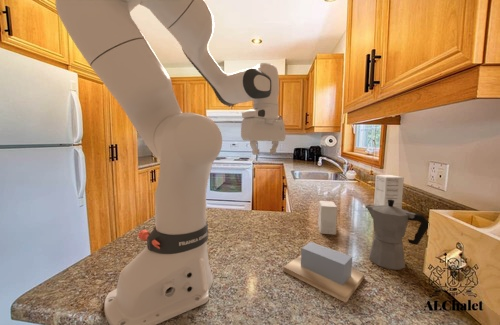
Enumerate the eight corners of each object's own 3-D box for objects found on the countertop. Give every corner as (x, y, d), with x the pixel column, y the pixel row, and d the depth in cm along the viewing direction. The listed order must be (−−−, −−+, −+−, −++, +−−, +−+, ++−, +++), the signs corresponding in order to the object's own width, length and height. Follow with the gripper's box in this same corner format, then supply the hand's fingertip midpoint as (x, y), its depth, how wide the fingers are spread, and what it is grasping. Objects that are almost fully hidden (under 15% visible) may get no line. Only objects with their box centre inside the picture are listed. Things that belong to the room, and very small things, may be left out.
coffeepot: (355, 256, 65) (359, 197, 64) (369, 247, 71) (373, 192, 69) (418, 283, 53) (425, 210, 52) (429, 269, 59) (435, 204, 57)
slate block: (351, 276, 54) (310, 259, 61) (352, 256, 53) (310, 241, 61) (343, 285, 50) (300, 266, 58) (344, 264, 50) (301, 247, 57)
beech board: (345, 302, 46) (346, 297, 46) (283, 271, 57) (283, 266, 57) (364, 278, 55) (364, 273, 55) (306, 254, 66) (306, 250, 66)
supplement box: (402, 210, 111) (404, 177, 109) (384, 210, 111) (386, 177, 109) (389, 205, 121) (392, 174, 119) (373, 204, 120) (375, 174, 119)
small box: (336, 235, 80) (337, 207, 79) (320, 233, 81) (321, 206, 80) (332, 227, 88) (333, 201, 87) (317, 225, 89) (319, 200, 88)
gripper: (276, 117, 86) (275, 152, 87) (238, 112, 71) (237, 154, 73) (290, 116, 82) (288, 153, 83) (252, 110, 67) (251, 155, 68)
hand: (264, 154), depth 78 cm, fingers open, 8 cm apart
